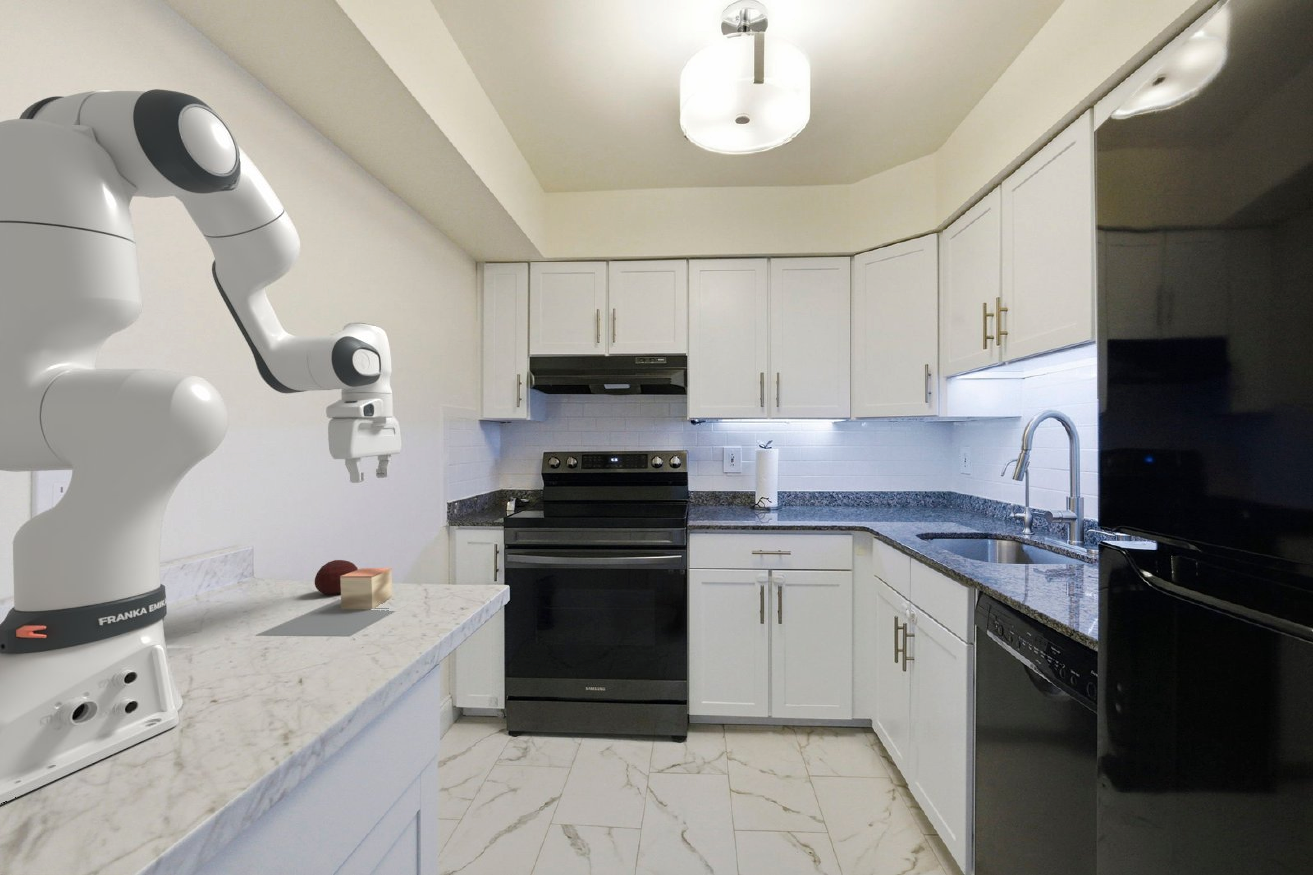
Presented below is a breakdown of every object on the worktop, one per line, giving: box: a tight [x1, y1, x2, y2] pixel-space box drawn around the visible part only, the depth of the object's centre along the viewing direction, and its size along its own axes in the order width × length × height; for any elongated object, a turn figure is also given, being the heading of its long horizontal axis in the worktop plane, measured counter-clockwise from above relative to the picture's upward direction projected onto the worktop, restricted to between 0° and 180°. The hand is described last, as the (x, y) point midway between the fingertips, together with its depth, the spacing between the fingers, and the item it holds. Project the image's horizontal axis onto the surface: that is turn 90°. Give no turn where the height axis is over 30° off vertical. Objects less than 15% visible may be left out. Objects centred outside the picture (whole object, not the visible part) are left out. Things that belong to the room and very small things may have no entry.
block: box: [340, 567, 393, 609], centre depth 101 cm, size 6×6×6 cm
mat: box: [255, 599, 395, 637], centre depth 94 cm, size 19×16×1 cm
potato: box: [314, 559, 359, 596], centre depth 110 cm, size 7×8×7 cm
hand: (370, 479), depth 106 cm, fingers open, 8 cm apart
